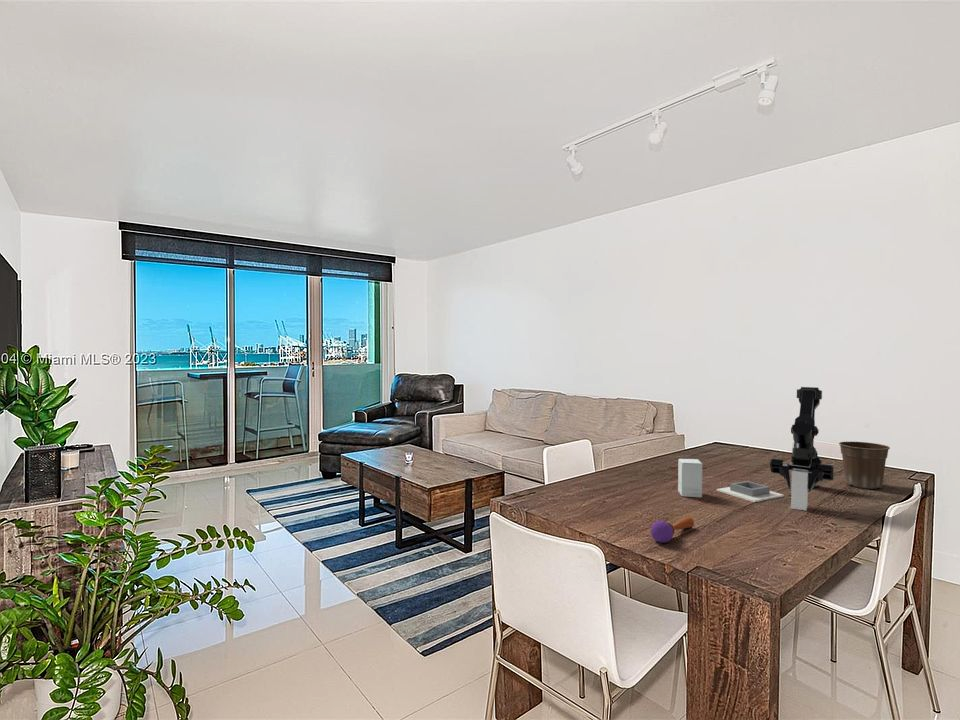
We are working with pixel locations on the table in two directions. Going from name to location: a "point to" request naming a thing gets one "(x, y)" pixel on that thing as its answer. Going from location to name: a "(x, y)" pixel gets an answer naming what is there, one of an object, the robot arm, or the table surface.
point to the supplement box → (690, 477)
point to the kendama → (669, 529)
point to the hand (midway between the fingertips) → (799, 489)
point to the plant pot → (864, 464)
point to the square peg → (799, 489)
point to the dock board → (750, 491)
